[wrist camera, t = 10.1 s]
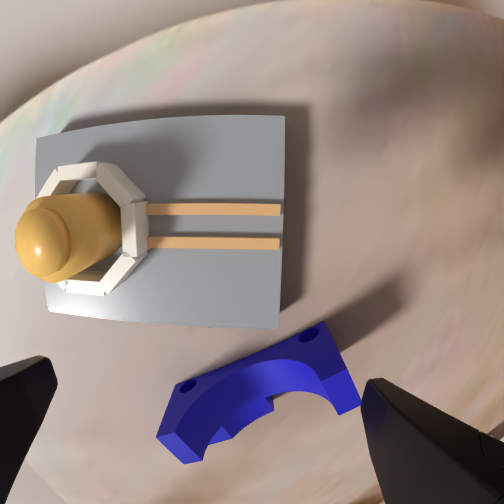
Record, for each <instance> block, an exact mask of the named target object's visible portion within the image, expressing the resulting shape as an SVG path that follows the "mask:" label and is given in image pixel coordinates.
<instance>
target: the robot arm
mask: <svg viewBox="0 0 504 504" xmlns="http://www.w3.org/2000/svg"><path fill="white" fill-rule="evenodd" d="M57 385H58V382H57V378H56V375H55V372H54V369H53V366H52V363H51V361H50V359H49V358H47V357H43V356H39V355H38V356H34V357H31V358H28V359H25V360H22V361H19V362H15V363H12V364H9V365H6V366H3V367H0V504H5V502H6V500H7V497H8V495H9V493H10V490H11V488H12V485H13V483H14V481H15V478H16V476H17V474H18V472H19V470H20V467H21V465H22V463H23V461H24V459H25V457H26V455H27V453H28V451H29V448H30V446H31V444H32V442H33V440H34V438H35V436H36V434H37V433H38V431H39V429H40V427H41V424H42V422H43V420H44V417H45V415H46V412H47V410H48V408H49V405H50V403H51V400H52V398H53V396H54V393H55V391H56V389H57ZM361 414H362V418H363V423H364V428H365V433H366V438H367V443H368V448H369V453H370V457H371V460H372V463H373V466H374V469H375V472H376V476H377V479H378V482H379V485H380V488H381V491H382V494H383V498H384V501H385V504H504V442H502V441H500V440H498V439H495V438H493V437H491V436H489V435H487V434H485V433H483V432H479V430H477V429H475V428H473V427H471V426H470V425H468V424H466V423H464V422H462V421H460V420H458V419H456V418H454V417H452V416H451V415H449V414H447V413H445V412H443V411H441V410H439V409H437V408H436V407H434V406H432V405H430V404H428V403H427V402H425V401H423V400H421V399H419V398H417V397H416V396H414V395H412V394H410V393H409V392H407V391H405V390H403V389H401V388H400V387H398V386H396V385H394V384H393V383H391V382H389V381H387V380H386V379H384V378H375V379H369V380H368V381H367V383H366V386H365V390H364V393H363V397H362V401H361Z"/></svg>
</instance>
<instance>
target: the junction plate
mask: <svg viewBox="0 0 504 504" xmlns="http://www.w3.org/2000/svg"><path fill="white" fill-rule="evenodd" d="M284 171H285V116H275V115H204V116H184V117H169V118H158V119H147V120H138V121H129V122H122V123H114V124H107V125H101V126H95V127H89V128H83V129H78V130H73V131H68V132H63V133H58V134H54V135H49V136H45V137H41V138H37V143H36V165H35V198H36V199H37V198H39V197H43V196H53V195H65V194H77V193H91V192H100V193H104V194H107V195H109V196H110V197H112V198H113V200H114V201H115V202H116V203H117V204H118V205H119V206H120V208H121V229H122V243H121V245H120V247H119V248H118V250H117V251H116V252H115V253H114V254H112V255H111V256H109V257H107V258H105V259H103V260H101V261H99V262H97V263H95V264H93V265H92V266H90V267H88V268H86V269H84V270H82V271H80V272H78V273H76V274H75V275H73V276H71V277H69V278H67V279H65V280H63V281H61V282H58V283H50V282H46V281H44V280H43V283H44V289H45V294H46V300H47V305H48V310H49V311H51V312H57V313H64V314H71V315H78V316H86V317H94V318H102V319H111V320H121V321H131V322H142V323H153V324H166V325H181V326H198V327H220V328H257V329H278V328H279V310H280V291H281V269H282V243H283V213H284Z"/></svg>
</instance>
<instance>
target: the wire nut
mask: <svg viewBox="0 0 504 504" xmlns="http://www.w3.org/2000/svg"><path fill="white" fill-rule="evenodd" d="M121 243H122V229H121V208H120V206H119V205H118V204H117V203H116V202H115V201H114V200H113V198H112V197H110V196H109V195H107V194H104V193H100V192H91V193H77V194H65V195H53V196H43V197H39V198H37V199H35V200H34V201H32V202H31V203H30V204H29V205H28V207H27V208H26V210H25V211H24V213H23V215H22V217H21V218H20V220H19V222H18V224H17V227H16V232H15V245H16V250H17V254H18V257H19V259H20V261H21V263H22V265H23V266H24V267H25V269H26V270H27V271H28V272H30V273H31V274H32V275H34V276H37V277H38V278H40V279H42V280H44V281H46V282H50V283H58V282H61V281H63V280H65V279H67V278H69V277H71V276H73V275H75V274H76V273H78V272H80V271H82V270H84V269H86V268H88V267H90V266H92V265H93V264H95V263H97V262H99V261H101V260H103V259H105V258H107V257H109V256H111V255H112V254H114V253H115V252H116V251H117V250H118V248H119V247H120V245H121Z"/></svg>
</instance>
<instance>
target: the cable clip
mask: <svg viewBox="0 0 504 504" xmlns="http://www.w3.org/2000/svg"><path fill="white" fill-rule="evenodd" d="M291 391H305V392H311V393H315V394H318V395H320V396H322V397H324V398H326V399H327V400H328V401H329V402H330V403H331V404H332V405H333V406H334V408H335V410H336V412H337V413H338V415H341V414H343V413H345V412H348V411H350V410H352V409H354V408H356V407H358V406H360V405H361V398H360V396H359V394H358V392H357V389H356V387H355V385H354V383H353V381H352V378H351V376H350V374H349V372H348V370H347V367H346V365H345V363H344V361H343V359H342V357H341V355H340V353H339V351H338V348H337V346H336V344H335V342H334V340H333V338H332V336H331V334H330V332H329V330H328V328H327V326H326V324H325V322H324V321H323V322H321V323H319V324H317V325H315V326H313V327H311V328H309V329H307V330H305V331H303V332H301V333H299V334H297V335H295V336H292V337H290V338H288V339H286V340H284V341H282V342H279V343H277V344H275V345H273V346H271V347H268V348H266V349H264V350H262V351H259V352H257V353H255V354H252V355H250V356H248V357H245V358H243V359H241V360H238V361H236V362H234V363H231V364H229V365H226V366H224V367H221V368H219V369H216V370H214V371H211V372H209V373H206V374H203V375H201V376H198V377H196V378H193V379H190V380H187V381H185V382H182V383H179V384H176V385H175V387H174V390H173V393H172V395H171V398H170V401H169V403H168V406H167V408H166V411H165V414H164V417H163V419H162V422H161V425H160V427H159V430H158V433H157V435H156V438H157V439H158V440H159V441H160V442H161V443H162V444H163V445H164V446H165V447H166V448H167V449H168V450H169V451H170V452H171V453H172V454H173V455H174V456H176V457H177V458H178V459H179V460H180V461H181V462H182V463H183V464H188V463H193V462H198V461H202V460H203V457H204V453H205V450H206V448H207V446H208V445H210V444H214V443H218V442H221V441H225V440H228V439H232V438H233V437H234V436H235V435H236V434H237V433H238V432H240V431H241V430H242V429H243V428H244V427H246V426H247V425H248V424H250V423H251V422H253V421H254V420H256V419H258V418H260V417H262V416H263V415H265V414H268V413H270V412H272V411H274V403H273V399H272V397H271V396H272V395H275V394H279V393H284V392H291Z"/></svg>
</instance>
